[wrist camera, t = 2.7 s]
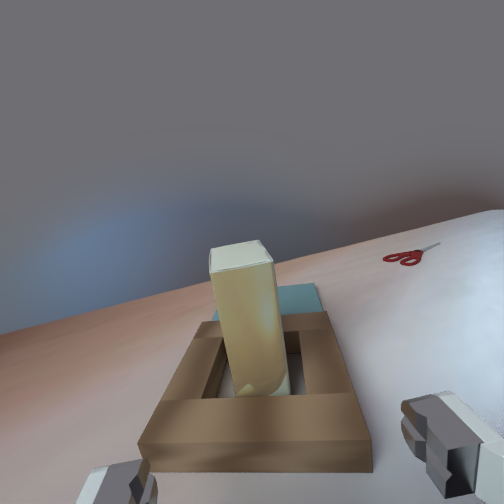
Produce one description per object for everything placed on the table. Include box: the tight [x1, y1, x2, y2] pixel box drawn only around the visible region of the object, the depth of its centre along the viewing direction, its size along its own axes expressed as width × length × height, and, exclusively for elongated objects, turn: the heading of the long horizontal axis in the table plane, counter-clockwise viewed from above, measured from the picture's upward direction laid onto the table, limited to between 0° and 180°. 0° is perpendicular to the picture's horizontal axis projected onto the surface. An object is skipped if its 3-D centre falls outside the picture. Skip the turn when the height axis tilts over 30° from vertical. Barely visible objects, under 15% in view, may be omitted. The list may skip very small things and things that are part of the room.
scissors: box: [383, 242, 440, 266], centre depth 46 cm, size 5×14×1 cm, turn 119°
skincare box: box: [209, 240, 291, 397], centre depth 21 cm, size 6×4×12 cm
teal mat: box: [212, 283, 323, 321], centre depth 35 cm, size 14×10×1 cm
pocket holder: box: [137, 311, 373, 473], centre depth 22 cm, size 14×14×2 cm
